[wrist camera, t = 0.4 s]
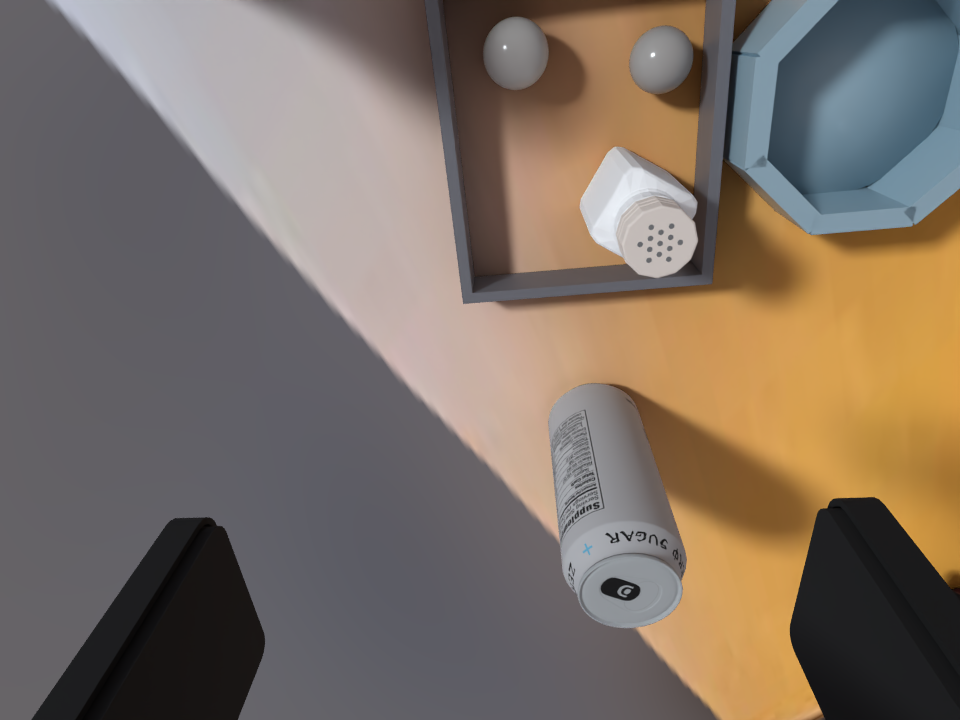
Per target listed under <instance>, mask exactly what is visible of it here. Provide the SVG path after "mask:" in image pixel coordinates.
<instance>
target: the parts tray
mask: <svg viewBox="0 0 960 720" xmlns="http://www.w3.org/2000/svg"><path fill="white" fill-rule="evenodd" d="M735 6H736V0H706V11H705V27H704V42H703V58H702V74H701V89H700V105H699V121H698V137H697V152H696V168H695V184H694V197H695V199H696V200H697V209H696V214H695V216H694V217H693V219H692V220H693V221H694V222H695V225H696V231H697V237H698V243H697V245H696V248H695V251H694V253H693V256H692V258H691V260H690V261H689V262H688V263H686V264H685V265H684V266H683V267H682V268H681V269H680V270H679V271H677V272H676V273H674V274H670V275H667V276H663V277H660V278H653V277H648V276H643V275H639V274H638V273H636V272H635V271H634V270H633V269H632V268H631V267H630V266H629V265H628V264H623V265H611V266H599V267H587V268H575V269H563V270H551V271H539V272H527V273H515V274H503V275H491V276H479V277H475V275H474V267H473V258H472V249H471V241H470V232H469V223H468V214H467V206H466V197H465V188H464V180H463V171H462V162H461V154H460V145H459V136H458V128H457V119H456V110H455V102H454V93H453V84H452V76H451V67H450V58H449V49H448V41H447V32H446V23H445V15H444V6H443V0H425V8H426V16H427V24H428V31H429V39H430V47H431V55H432V63H433V71H434V78H435V86H436V94H437V102H438V110H439V118H440V126H441V133H442V141H443V149H444V157H445V165H446V173H447V180H448V188H449V196H450V204H451V212H452V220H453V227H454V235H455V243H456V251H457V259H458V267H459V274H460V282H461V290H462V298H463V304H467V303H480V302H492V301H505V300H517V299H530V298H543V297H555V296H568V295H580V294H593V293H606V292H618V291H631V290H643V289H656V288H668V287H681V286H694V285H706V284H712V280H713V268H714V256H715V245H716V233H717V221H718V209H719V197H720V185H721V173H722V161H723V149H724V137H725V125H726V114H727V102H728V90H729V78H730V66H731V54H732V42H733V30H734V18H735Z"/></svg>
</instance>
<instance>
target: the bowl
mask: <svg viewBox="0 0 960 720" xmlns="http://www.w3.org/2000/svg"><path fill="white" fill-rule="evenodd" d="M723 160H724V161H725V162H726V163H727V164H728V165H729V166H730V167H731V168H732V169H733V170H734V171H735V172H736V173H737V174H738V175H739V176H740V177H741V178H742V179H743V180H744V181H745V182H746V183H747V184H748V185H749V186H750V187H751V188H752V189H753V190H754V191H755V192H756V193H757V194H758V195H759V196H760V197H762V198H763V199H764V200H765V201H766V202H767V203H768V204H769V205H770V206H771V207H772V208H773V209H774V210H775V211H776V212H777V213H779V214H780V215H782V216H783V217H785V218H786V219H787V220H789V221H790V222H792V223H793V224H795V225H796V226H797V227H799V228H800V229H802V230H803V231H805V232H806V233H808V234H810V235H817V234H829V233H841V232H852V231H864V230H876V229H888V228H899V227H911V226H912V225H913V224H915V225H916V224H917V223H918V222H920V221H921V220H922V219H923V218H925V217H926V216H927V215H928V214H929V213H931V212H932V211H933V210H934V209H935V208H937V207H938V206H939V205H940V204H941V203H943V202H944V201H945V200H946V199H948V198H949V197H950V196H951V195H952V194H954V193H955V192H956V191H957V190H958V189H960V0H771V2H770V3H769V4H768V5H767V6H766V7H765V8H764V9H763V10H762V11H761V13H760V14H759V15H758V16H757V17H756V18H755V19H754V20H753V21H752V22H751V24H750V25H749V26H748V27H747V28H746V29H745V30H744V31H743V32H742V33H741V35H740V36H739V37H738V38H737V39H736V40H735V41H734V42H733V43H732V54H731V66H730V78H729V90H728V102H727V114H726V125H725V137H724V149H723Z"/></svg>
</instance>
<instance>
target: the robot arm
mask: <svg viewBox="0 0 960 720" xmlns="http://www.w3.org/2000/svg"><path fill="white" fill-rule="evenodd" d="M790 637H791V642H792V646H793V649H794V652H795V654H796V656H797V658H798V660H799V663H800V665H801V667H802V669H803V671H804V674H805V676H806V678H807V680H808V682H809V684H810V687H811V689H812V691H813V693H814V695H815V698H816V700H817V702H818V704H819V706H820V709H821V711H822V713H823V715H824V717H825V719H826V720H960V595H959V594H958V593H956V592H954V591H953V590H951V589H950V587H949V586H948V585H947V583H946V582H945V581H944V580H943V578H942V577H941V576H940V575H939V573H938V572H937V571H936V569H935V568H934V567H933V566H932V564H931V563H930V562H929V561H928V559H927V558H926V557H925V556H924V554H923V553H922V552H921V550H920V549H919V548H918V547H917V545H916V544H915V543H914V542H913V540H912V539H911V538H910V536H909V535H908V534H907V533H906V531H905V530H904V529H903V528H902V526H901V525H900V524H899V522H898V521H897V520H896V519H895V517H894V516H893V515H892V514H891V512H890V511H889V510H888V509H887V507H886V506H885V505H884V504H883V503H882V502H881V501H880V500H879V499H877V498H875V497H868V498H837V499H833V500H832V501H831V502H830V503H829V505H828V508H827V509H820V510H819V511H818V514H817V517H816V521H815V525H814V529H813V533H812V537H811V541H810V545H809V550H808V554H807V558H806V562H805V566H804V570H803V574H802V578H801V582H800V587H799V591H798V595H797V599H796V603H795V607H794V611H793V615H792V619H791V623H790ZM264 647H265V636H264V632H263V630H262V627H261V624H260V621H259V619H258V616H257V613H256V611H255V608H254V605H253V602H252V600H251V597H250V594H249V592H248V589H247V587H246V584H245V581H244V578H243V576H242V573H241V570H240V567H239V565H238V562H237V559H236V557H235V554H234V551H233V549H232V546H231V543H230V541H229V538H228V535H227V533H226V531H225V529H224V528H223V527H222V526H217V525H216V523H215V521H214V520H213V519H212V518H207V517H205V518H175V519H173V520H171V521H170V522H169V523H168V524H167V525H166V526H165V528H164V529H163V531H162V532H161V534H160V535H159V536H158V538H157V539H156V541H155V542H154V544H153V545H152V546H151V548H150V549H149V551H148V552H147V554H146V555H145V557H144V558H143V559H142V561H141V562H140V564H139V565H138V567H137V568H136V570H135V571H134V572H133V574H132V575H131V577H130V578H129V580H128V581H127V583H126V584H125V586H124V587H123V588H122V590H121V591H120V593H119V594H118V596H117V597H116V598H115V600H114V601H113V603H112V604H111V606H110V607H109V609H108V610H107V611H106V613H105V615H104V616H103V618H102V619H101V620H100V622H99V623H98V624H97V626H96V627H95V629H94V630H93V632H92V633H91V634H90V636H89V637H88V639H87V640H86V642H85V643H84V645H83V646H82V647H81V649H80V650H79V652H78V653H77V655H76V656H75V658H74V659H73V660H72V662H71V663H70V665H69V666H68V668H67V669H66V671H65V672H64V673H63V675H62V676H61V678H60V679H59V681H58V682H57V684H56V685H55V687H54V688H53V689H52V691H51V692H50V694H49V695H48V697H47V698H46V699H45V701H44V702H43V704H42V705H41V707H40V708H39V710H38V711H37V713H36V714H35V715H34V717H33V718H32V720H238V718H239V715H240V712H241V710H242V707H243V705H244V702H245V700H246V697H247V695H248V692H249V689H250V687H251V684H252V682H253V679H254V677H255V674H256V672H257V669H258V667H259V664H260V662H261V659H262V656H263V653H264Z"/></svg>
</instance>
